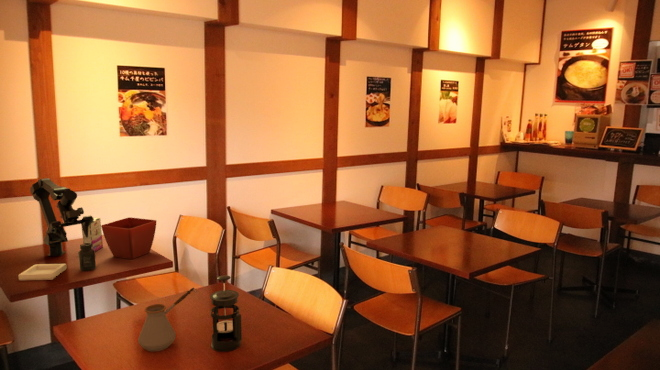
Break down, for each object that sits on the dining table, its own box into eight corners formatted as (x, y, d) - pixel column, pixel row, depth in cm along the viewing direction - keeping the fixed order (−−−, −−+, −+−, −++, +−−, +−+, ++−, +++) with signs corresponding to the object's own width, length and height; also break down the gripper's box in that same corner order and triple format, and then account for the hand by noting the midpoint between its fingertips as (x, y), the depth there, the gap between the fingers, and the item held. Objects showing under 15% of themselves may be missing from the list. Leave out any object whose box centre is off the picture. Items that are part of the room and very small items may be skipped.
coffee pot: (152, 358, 149) (149, 312, 146) (131, 347, 155) (128, 302, 153) (208, 332, 166) (206, 290, 163) (186, 323, 172) (184, 283, 170)
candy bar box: (94, 247, 262) (91, 217, 259) (103, 247, 262) (100, 217, 259) (83, 253, 251) (80, 222, 248) (92, 253, 251) (90, 222, 248)
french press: (203, 345, 157) (200, 277, 153) (225, 334, 164) (223, 269, 160) (229, 356, 150) (226, 285, 146) (250, 344, 157) (249, 276, 154)
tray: (35, 269, 227) (34, 264, 226) (66, 268, 228) (66, 263, 228) (19, 280, 213) (18, 274, 213) (52, 279, 214) (51, 274, 214)
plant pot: (102, 257, 245) (99, 225, 242) (131, 247, 262) (129, 216, 259) (131, 262, 237) (129, 229, 235) (159, 251, 255) (157, 220, 252)
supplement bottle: (99, 266, 231) (97, 242, 229) (90, 271, 224) (88, 246, 222) (85, 266, 232) (83, 242, 229) (76, 271, 225) (74, 246, 223)
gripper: (49, 205, 222) (60, 235, 218) (91, 199, 236) (102, 227, 232) (43, 217, 229) (54, 246, 225) (84, 210, 243) (95, 238, 239)
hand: (77, 239), depth 230 cm, fingers open, 9 cm apart
